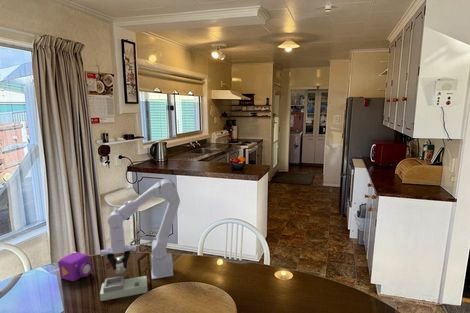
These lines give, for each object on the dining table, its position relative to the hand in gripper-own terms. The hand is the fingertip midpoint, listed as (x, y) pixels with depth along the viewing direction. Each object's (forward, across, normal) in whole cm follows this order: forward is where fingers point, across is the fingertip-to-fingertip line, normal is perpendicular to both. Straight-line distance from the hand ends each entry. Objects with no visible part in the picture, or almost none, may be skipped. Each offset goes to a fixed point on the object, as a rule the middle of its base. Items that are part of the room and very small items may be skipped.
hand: (120, 268), depth 134 cm
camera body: (+6, -2, +9) cm, 11 cm away
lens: (+2, 0, 0) cm, 2 cm away
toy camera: (+6, +19, -10) cm, 22 cm away
